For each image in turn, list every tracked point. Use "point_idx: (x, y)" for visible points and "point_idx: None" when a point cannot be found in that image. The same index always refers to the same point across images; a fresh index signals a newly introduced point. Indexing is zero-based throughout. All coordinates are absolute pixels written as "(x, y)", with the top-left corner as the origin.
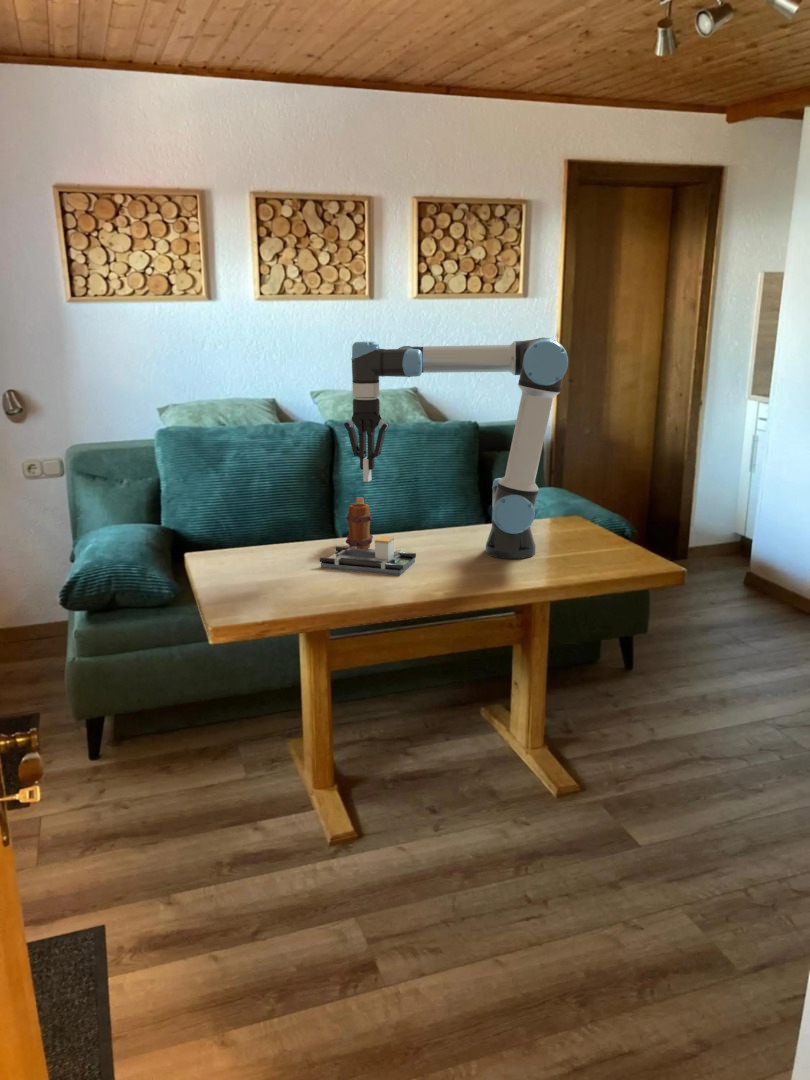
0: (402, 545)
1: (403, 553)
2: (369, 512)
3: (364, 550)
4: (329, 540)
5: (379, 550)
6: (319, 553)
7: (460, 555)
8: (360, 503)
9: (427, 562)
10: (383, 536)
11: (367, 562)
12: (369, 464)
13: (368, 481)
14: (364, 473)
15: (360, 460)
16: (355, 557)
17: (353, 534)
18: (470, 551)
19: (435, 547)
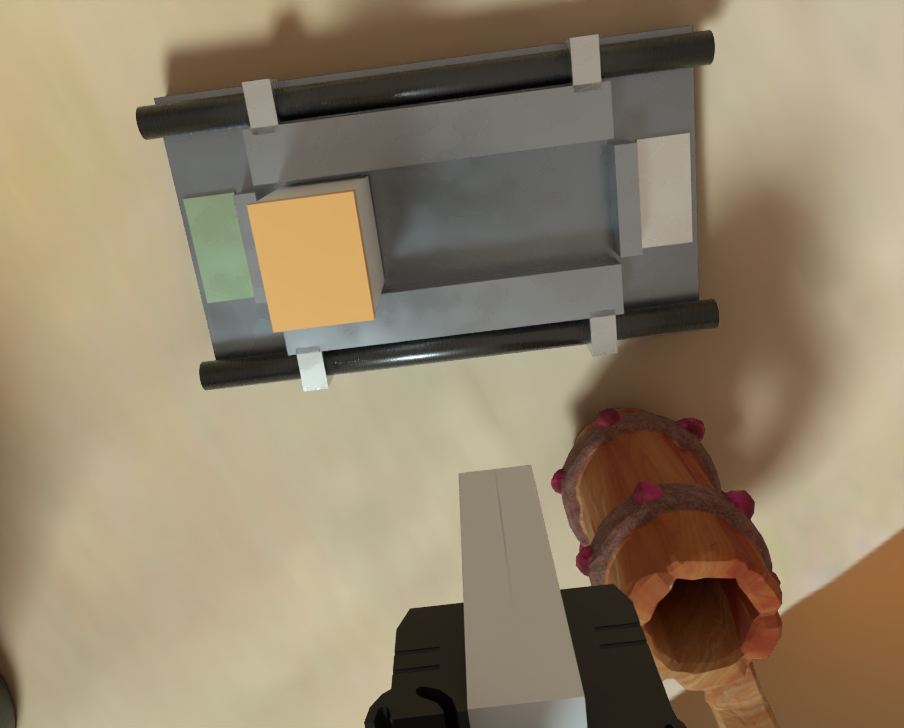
0: None
1: (271, 361)
2: None
3: (507, 300)
4: (861, 546)
5: (328, 188)
6: (818, 305)
7: (76, 571)
8: (715, 675)
9: (163, 396)
10: (345, 309)
11: (372, 83)
12: (454, 665)
13: (460, 484)
14: (523, 527)
15: (654, 693)
16: (488, 134)
17: (660, 448)
18: (70, 648)
19: (265, 643)
